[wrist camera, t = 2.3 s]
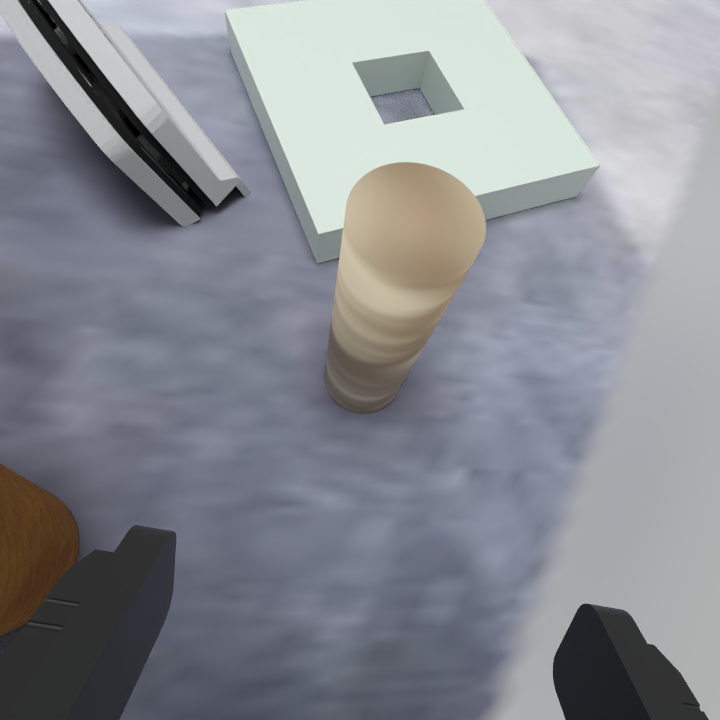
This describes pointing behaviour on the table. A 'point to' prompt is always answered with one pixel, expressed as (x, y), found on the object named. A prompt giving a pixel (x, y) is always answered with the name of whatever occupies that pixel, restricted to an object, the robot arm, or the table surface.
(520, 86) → the collar block
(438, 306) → the birch pin
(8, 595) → the disposable coffee cup
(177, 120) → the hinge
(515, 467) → the table surface
